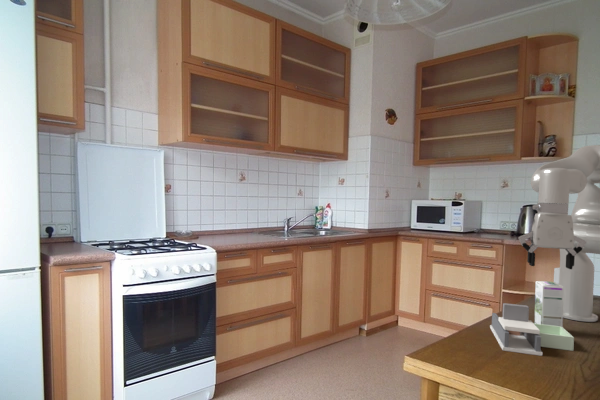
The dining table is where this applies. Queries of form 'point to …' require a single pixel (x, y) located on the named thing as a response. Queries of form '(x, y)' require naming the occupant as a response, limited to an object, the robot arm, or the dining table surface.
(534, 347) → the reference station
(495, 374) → the dining table surface
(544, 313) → the syrup box
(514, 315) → the cover
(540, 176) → the robot arm
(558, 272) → the skincare box
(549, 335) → the socket
